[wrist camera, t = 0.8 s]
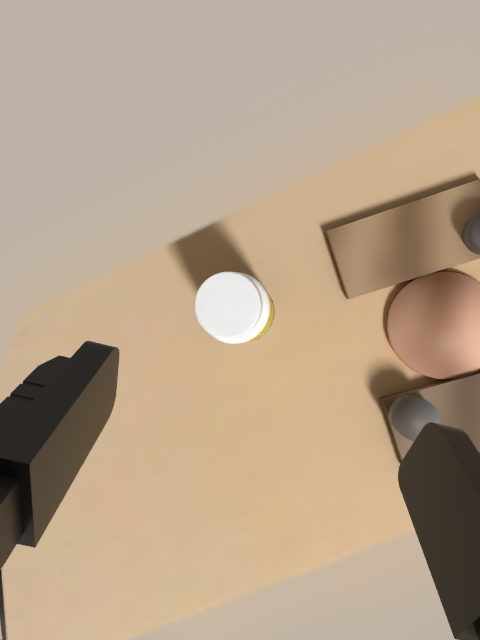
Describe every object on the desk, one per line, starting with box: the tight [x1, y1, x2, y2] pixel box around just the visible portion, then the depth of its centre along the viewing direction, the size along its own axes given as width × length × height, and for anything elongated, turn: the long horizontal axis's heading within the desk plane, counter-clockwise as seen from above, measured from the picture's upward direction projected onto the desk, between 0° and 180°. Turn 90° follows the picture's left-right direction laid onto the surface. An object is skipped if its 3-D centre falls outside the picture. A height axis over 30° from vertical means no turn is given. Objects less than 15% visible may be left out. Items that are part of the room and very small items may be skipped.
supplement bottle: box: [195, 272, 274, 344], centre depth 25 cm, size 5×5×8 cm
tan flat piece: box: [326, 179, 480, 462], centre depth 26 cm, size 12×19×2 cm, turn 18°
